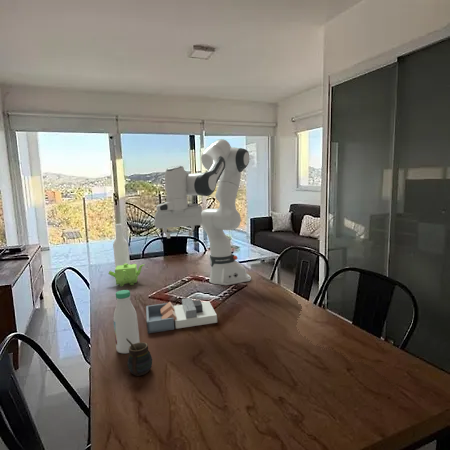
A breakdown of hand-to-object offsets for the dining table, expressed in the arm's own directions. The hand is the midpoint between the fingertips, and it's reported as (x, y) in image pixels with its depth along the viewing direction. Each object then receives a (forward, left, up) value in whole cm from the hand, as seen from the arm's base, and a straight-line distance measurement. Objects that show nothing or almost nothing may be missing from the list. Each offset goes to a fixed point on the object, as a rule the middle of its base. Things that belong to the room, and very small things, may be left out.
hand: (179, 237), depth 150 cm
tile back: (+7, +10, -29) cm, 31 cm away
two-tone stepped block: (+2, +14, -26) cm, 30 cm away
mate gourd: (+19, +48, -31) cm, 60 cm away
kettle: (+26, -45, -31) cm, 61 cm away
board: (-2, +14, -31) cm, 34 cm away
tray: (+12, +14, -31) cm, 36 cm away
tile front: (+7, +18, -29) cm, 35 cm away
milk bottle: (+23, +32, -31) cm, 50 cm away
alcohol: (+30, -74, -31) cm, 86 cm away
